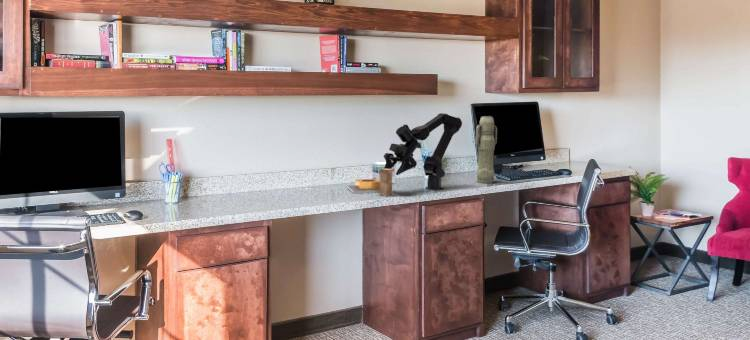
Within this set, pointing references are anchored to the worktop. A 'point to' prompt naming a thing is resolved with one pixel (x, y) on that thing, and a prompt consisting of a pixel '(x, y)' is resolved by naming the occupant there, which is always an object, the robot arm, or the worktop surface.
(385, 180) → the tan square block
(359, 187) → the square socket
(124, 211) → the worktop surface
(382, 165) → the light bulb box
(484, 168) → the stone statue
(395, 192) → the worktop surface
